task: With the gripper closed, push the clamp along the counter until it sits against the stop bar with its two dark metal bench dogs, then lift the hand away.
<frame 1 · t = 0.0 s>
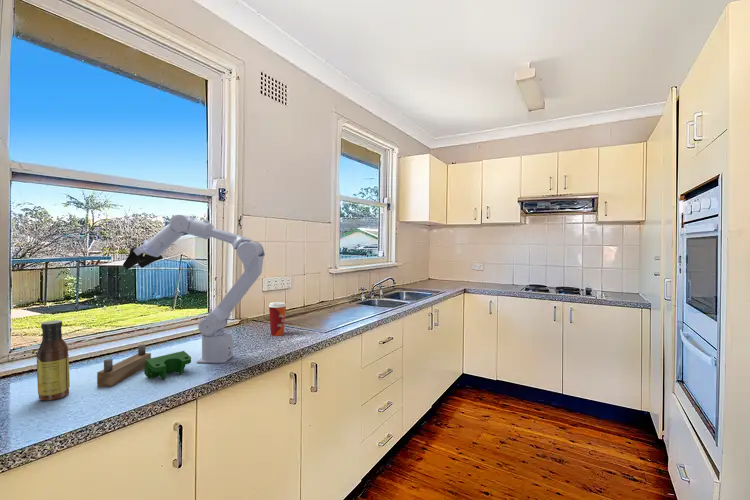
hand: (132, 266, 125), 32 cm above the countertop, tool tilted 50°, fingers open, 7 cm apart
paper cup: (277, 334, 161), on the countertop
clamp: (168, 376, 111), on the countertop
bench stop: (126, 375, 111), on the countertop
sauce bottle: (53, 397, 94), on the countertop
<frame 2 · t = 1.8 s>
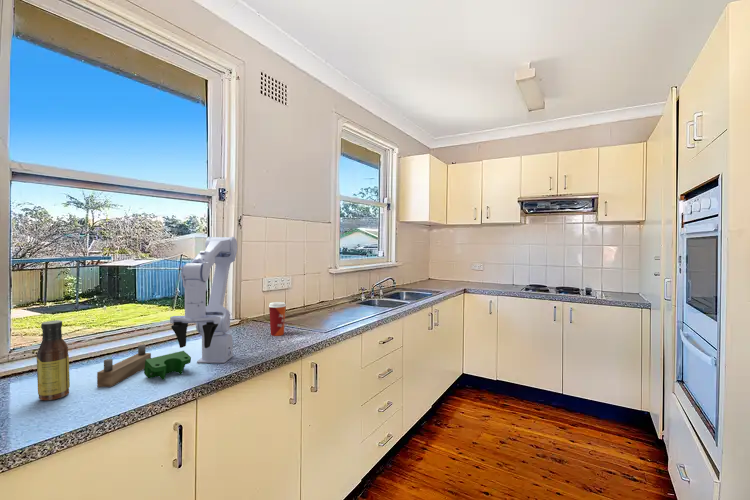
hand: (195, 347, 110), 9 cm above the countertop, tool pointing down, fingers open, 7 cm apart
nothing on the countertop moved.
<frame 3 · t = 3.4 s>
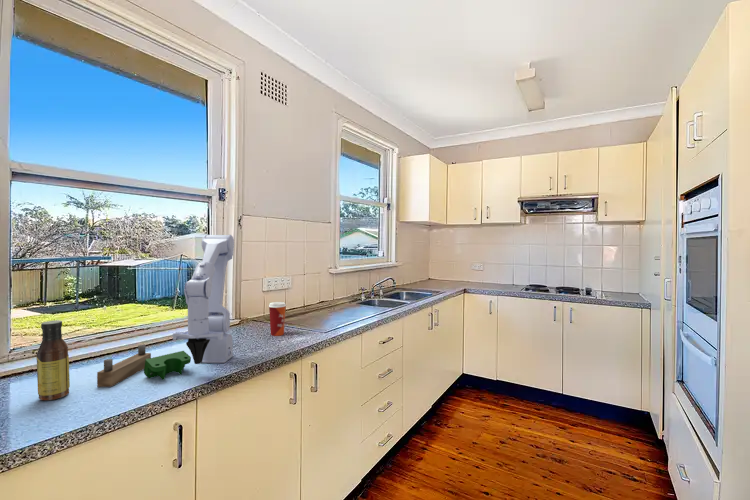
hand: (198, 363, 111), 4 cm above the countertop, tool pointing down, fingers closed
nothing on the countertop moved.
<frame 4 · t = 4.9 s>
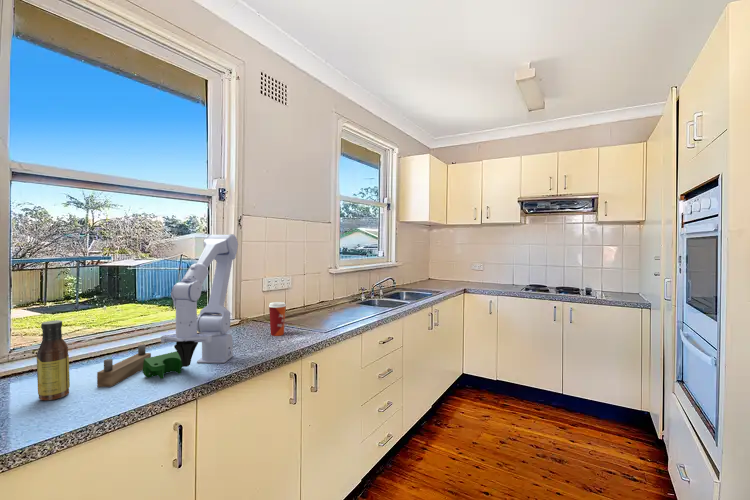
hand: (186, 365, 111), 3 cm above the countertop, tool pointing down, fingers closed
clamp: (167, 375, 111), on the countertop, touching gripper
everything else where it was.
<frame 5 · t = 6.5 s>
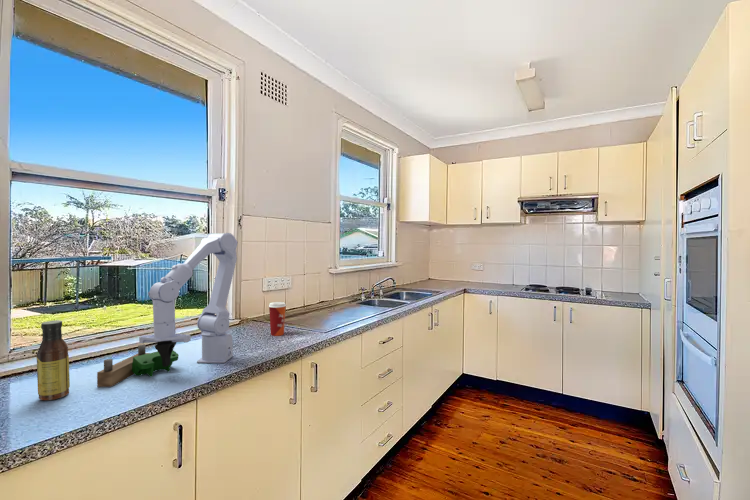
hand: (165, 365, 111), 3 cm above the countertop, tool pointing down, fingers closed, pressing on clamp
clamp: (156, 373, 113), on the countertop, touching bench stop, gripper
everything else where it was.
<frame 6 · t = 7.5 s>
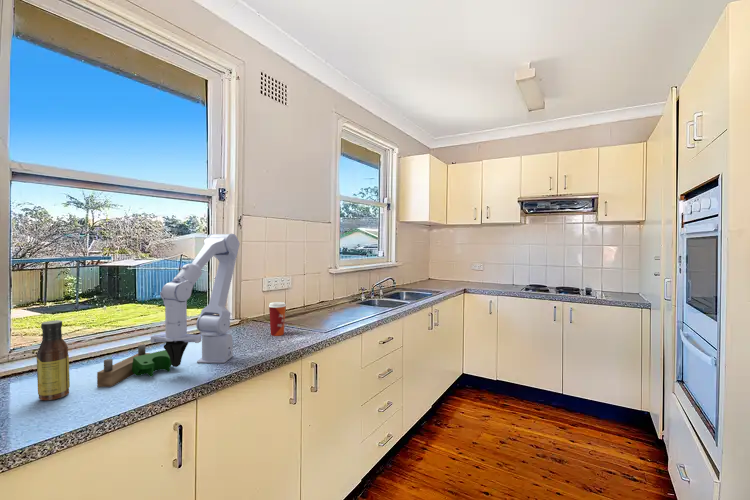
hand: (176, 365, 111), 3 cm above the countertop, tool pointing down, fingers closed
clamp: (156, 373, 113), on the countertop
everything else where it was.
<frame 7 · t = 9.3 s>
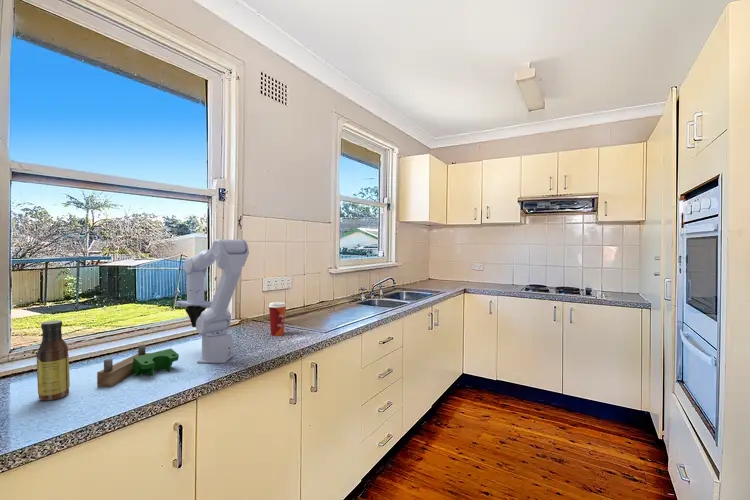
hand: (195, 326, 134), 10 cm above the countertop, tool pointing down, fingers closed
nothing on the countertop moved.
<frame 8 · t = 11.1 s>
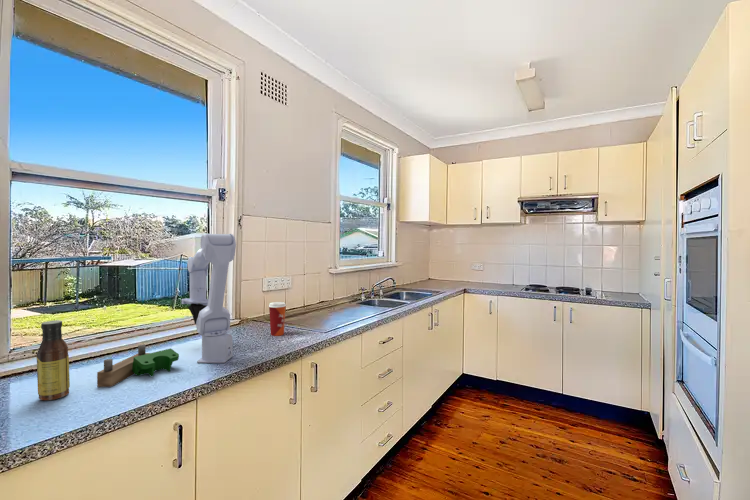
hand: (198, 323, 139), 9 cm above the countertop, tool pointing down, fingers closed
nothing on the countertop moved.
at the end: clamp inside the target area on the countertop beside the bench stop (2.6 cm from its centre), on the countertop; clamp moved 5.8 cm from its start; clamp tilted 2° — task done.
